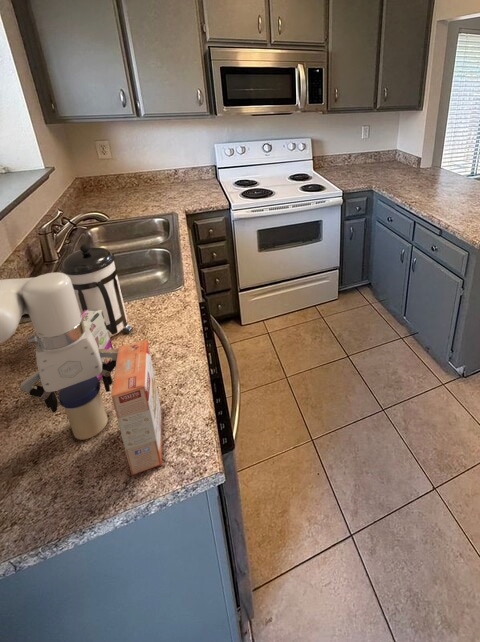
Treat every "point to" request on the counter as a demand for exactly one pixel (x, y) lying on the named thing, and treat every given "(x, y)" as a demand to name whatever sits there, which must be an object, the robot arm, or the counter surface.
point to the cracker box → (138, 406)
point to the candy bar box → (97, 330)
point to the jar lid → (79, 393)
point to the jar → (88, 418)
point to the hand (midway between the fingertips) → (82, 397)
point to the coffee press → (97, 285)
